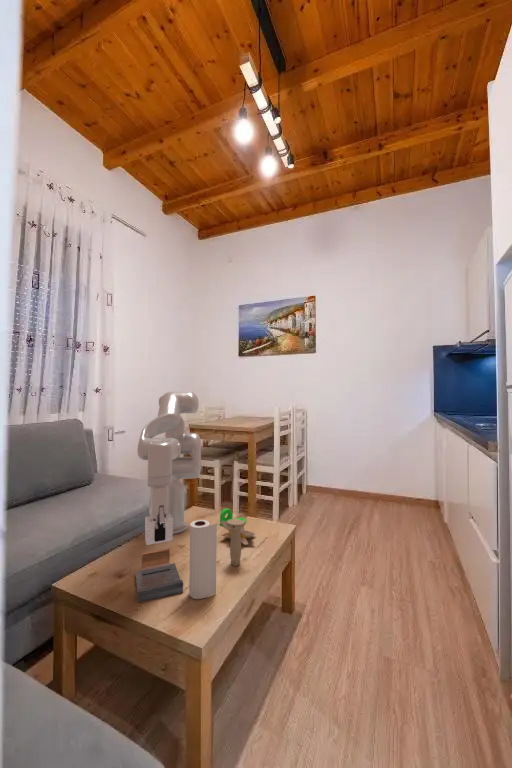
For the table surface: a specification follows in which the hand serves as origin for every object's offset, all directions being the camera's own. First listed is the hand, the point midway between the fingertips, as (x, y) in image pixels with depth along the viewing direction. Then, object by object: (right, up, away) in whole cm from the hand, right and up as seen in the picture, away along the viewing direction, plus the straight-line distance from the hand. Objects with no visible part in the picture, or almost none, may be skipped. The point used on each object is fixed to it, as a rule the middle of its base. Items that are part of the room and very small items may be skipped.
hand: (158, 536), depth 105 cm
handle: (+24, -16, +12) cm, 31 cm away
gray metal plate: (0, -15, -1) cm, 15 cm away
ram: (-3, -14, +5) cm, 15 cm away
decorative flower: (+25, -16, +30) cm, 42 cm away
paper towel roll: (+15, -15, -6) cm, 22 cm away
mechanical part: (+21, -17, +46) cm, 54 cm away
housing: (0, -1, 0) cm, 1 cm away
